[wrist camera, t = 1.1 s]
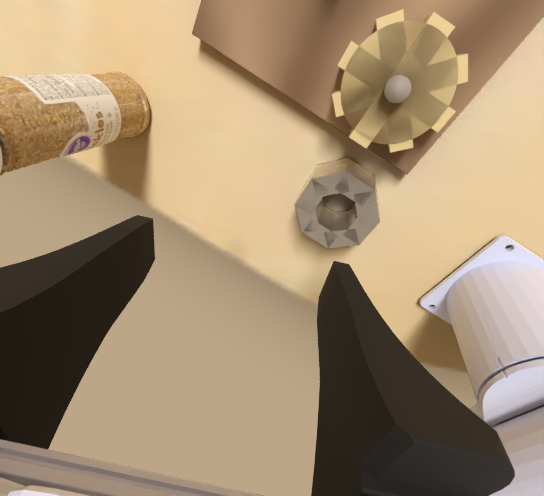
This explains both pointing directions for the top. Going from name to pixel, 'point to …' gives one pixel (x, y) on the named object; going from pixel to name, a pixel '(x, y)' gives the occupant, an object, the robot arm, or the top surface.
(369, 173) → the loose gear
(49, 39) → the top surface
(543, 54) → the top surface
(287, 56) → the gear board
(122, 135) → the sprinkles bottle
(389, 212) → the top surface
